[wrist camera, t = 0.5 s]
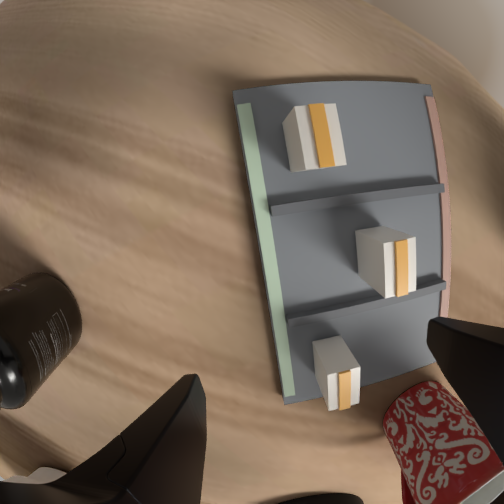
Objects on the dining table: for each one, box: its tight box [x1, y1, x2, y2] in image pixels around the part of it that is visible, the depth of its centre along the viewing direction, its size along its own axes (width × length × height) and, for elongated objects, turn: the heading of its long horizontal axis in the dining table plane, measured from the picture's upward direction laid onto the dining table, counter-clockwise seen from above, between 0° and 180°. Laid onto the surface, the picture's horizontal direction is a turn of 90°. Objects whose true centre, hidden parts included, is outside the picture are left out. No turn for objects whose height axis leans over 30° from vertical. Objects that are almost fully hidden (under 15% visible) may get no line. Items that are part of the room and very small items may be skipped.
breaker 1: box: [282, 103, 347, 173], centre depth 15 cm, size 2×3×4 cm, turn 9°
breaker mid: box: [355, 226, 416, 298], centre depth 16 cm, size 2×3×4 cm, turn 9°
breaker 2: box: [312, 335, 360, 411], centre depth 18 cm, size 2×3×4 cm, turn 9°
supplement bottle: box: [0, 273, 82, 409], centre depth 14 cm, size 7×7×12 cm
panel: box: [233, 81, 451, 405], centre depth 19 cm, size 14×22×2 cm, turn 9°
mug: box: [383, 381, 504, 504], centre depth 17 cm, size 13×9×14 cm
